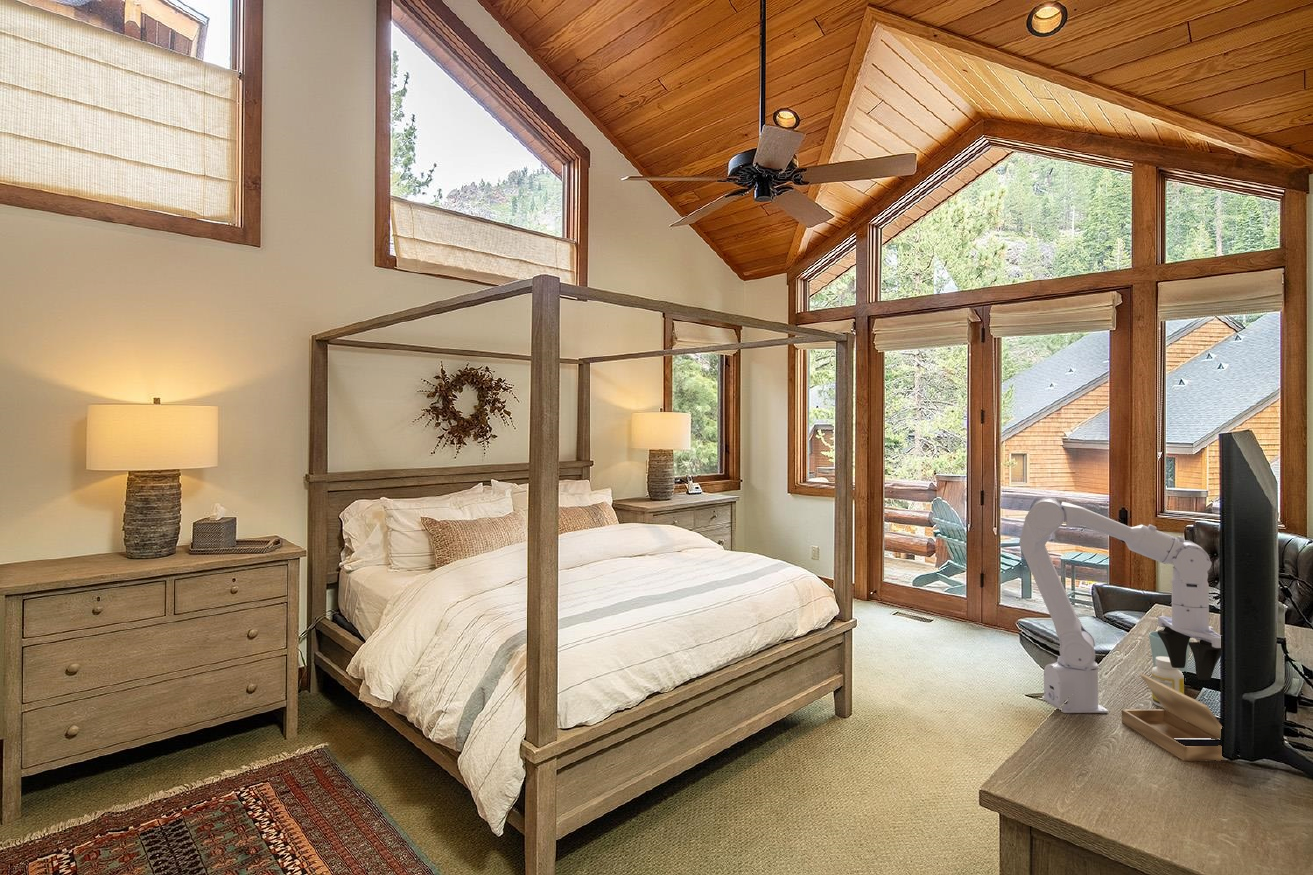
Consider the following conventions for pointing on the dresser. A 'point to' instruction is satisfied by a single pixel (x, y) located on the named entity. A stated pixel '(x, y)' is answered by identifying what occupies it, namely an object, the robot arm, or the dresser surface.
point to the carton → (1171, 733)
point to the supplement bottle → (1167, 676)
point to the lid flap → (1184, 707)
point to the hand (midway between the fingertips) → (1190, 673)
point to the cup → (1162, 649)
